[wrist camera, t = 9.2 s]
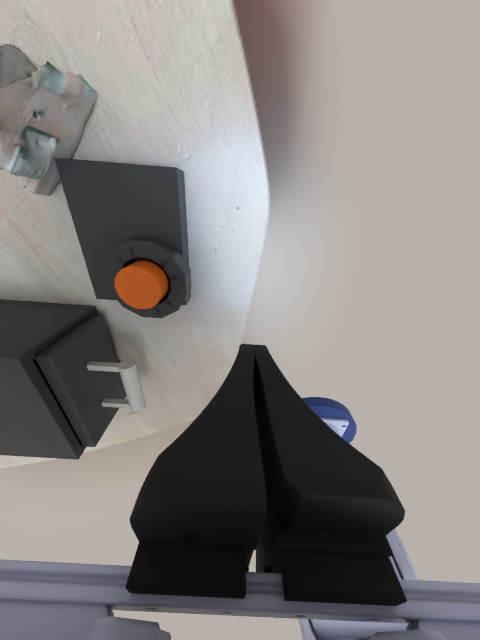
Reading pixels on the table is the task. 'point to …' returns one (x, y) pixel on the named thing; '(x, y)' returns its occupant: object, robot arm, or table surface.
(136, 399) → the drawer
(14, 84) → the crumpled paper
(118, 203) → the control block
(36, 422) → the box
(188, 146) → the table surface
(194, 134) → the table surface
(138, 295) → the button
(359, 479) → the robot arm
